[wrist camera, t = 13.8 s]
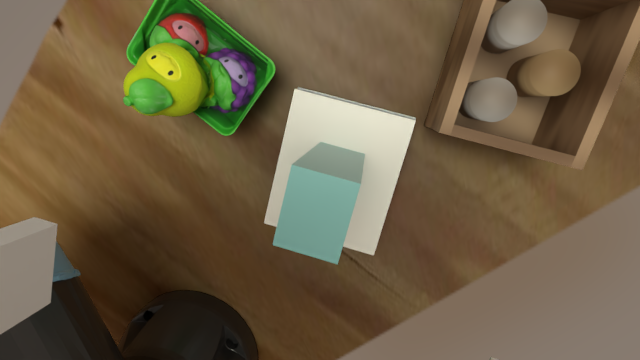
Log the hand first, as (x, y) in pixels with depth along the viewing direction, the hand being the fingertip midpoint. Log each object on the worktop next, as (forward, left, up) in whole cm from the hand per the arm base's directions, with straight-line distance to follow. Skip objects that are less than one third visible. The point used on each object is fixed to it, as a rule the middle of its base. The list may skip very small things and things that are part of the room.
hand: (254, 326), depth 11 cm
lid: (0, 0, -25) cm, 25 cm away
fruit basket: (+6, +13, -26) cm, 30 cm away
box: (+12, -12, -26) cm, 31 cm away
